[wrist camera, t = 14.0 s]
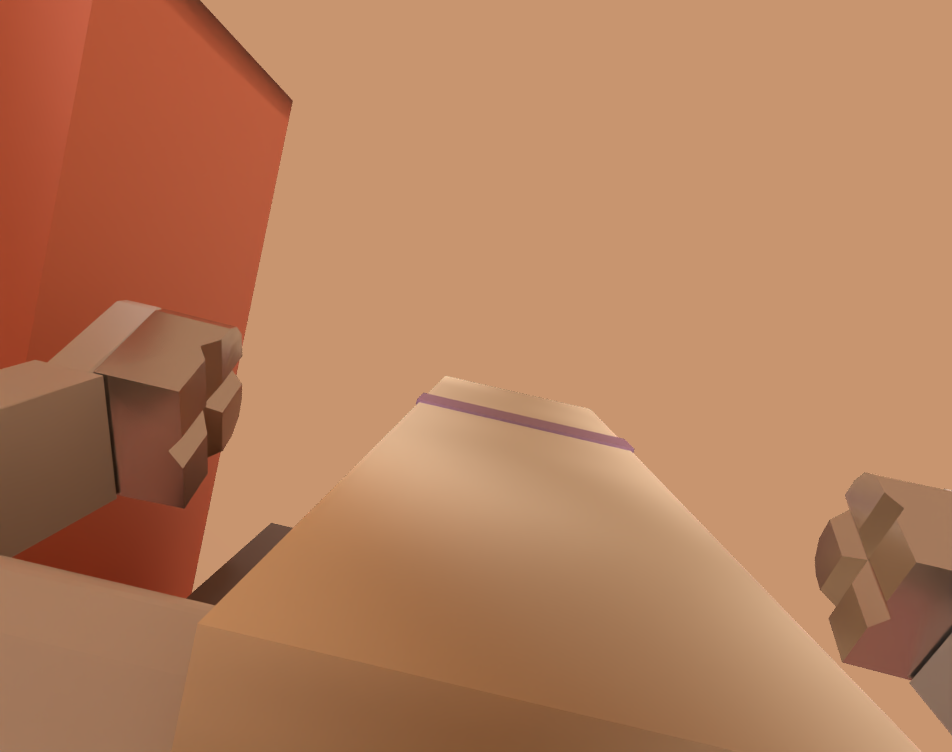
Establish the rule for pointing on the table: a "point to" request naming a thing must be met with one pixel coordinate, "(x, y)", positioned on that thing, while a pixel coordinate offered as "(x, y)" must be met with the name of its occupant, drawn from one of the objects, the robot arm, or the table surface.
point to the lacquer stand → (132, 222)
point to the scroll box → (510, 610)
